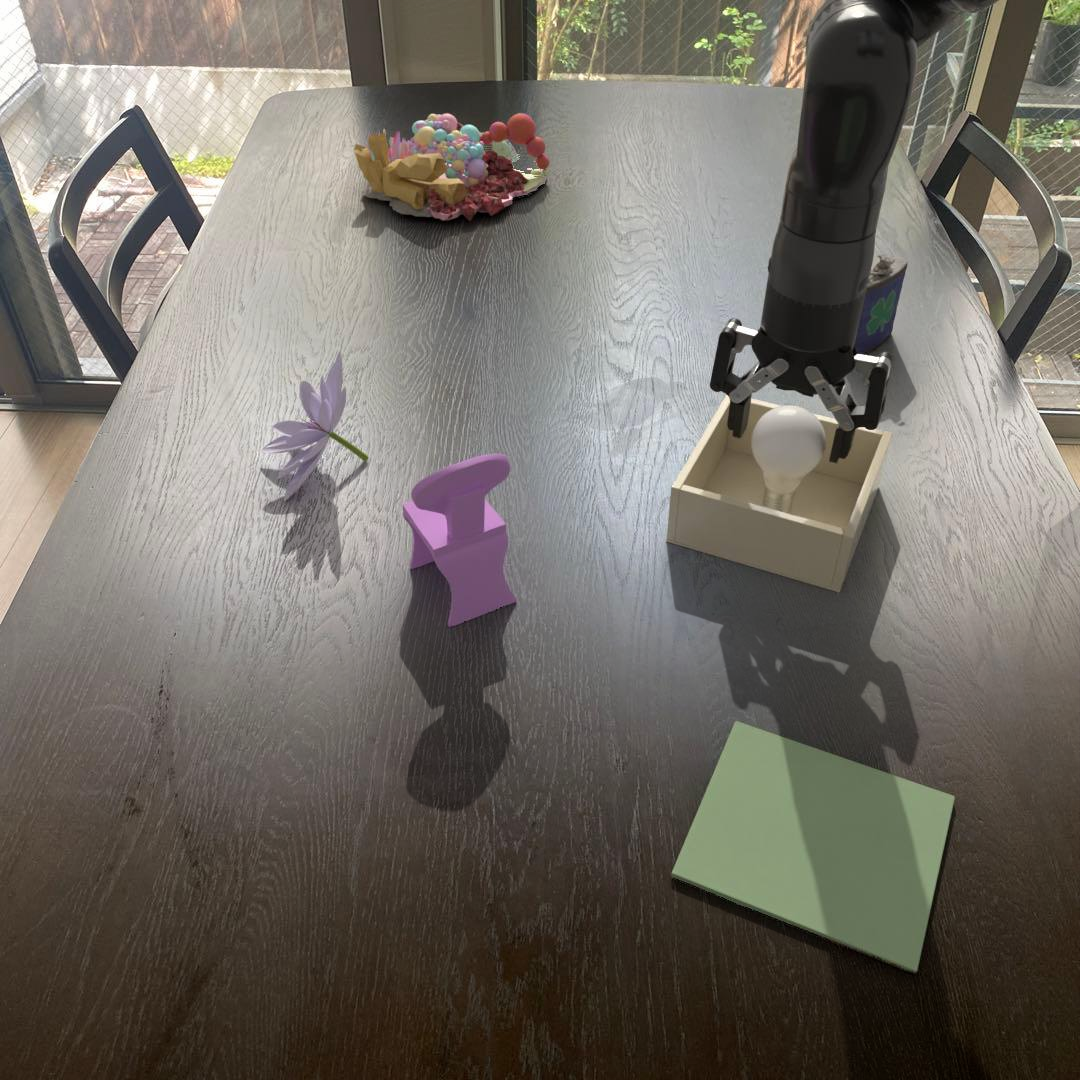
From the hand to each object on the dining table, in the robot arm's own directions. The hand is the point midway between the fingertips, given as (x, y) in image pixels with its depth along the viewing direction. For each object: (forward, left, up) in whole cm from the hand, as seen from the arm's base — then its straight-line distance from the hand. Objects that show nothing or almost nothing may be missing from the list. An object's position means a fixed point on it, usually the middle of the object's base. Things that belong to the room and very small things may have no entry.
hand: (786, 445), depth 94 cm
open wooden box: (0, 0, -8) cm, 8 cm away
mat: (-12, +32, -8) cm, 35 cm away
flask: (-1, -32, -8) cm, 33 cm away
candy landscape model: (+61, -50, -8) cm, 79 cm away
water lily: (+43, +11, -8) cm, 45 cm away
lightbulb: (0, 0, -8) cm, 8 cm away
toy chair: (+22, +20, -8) cm, 31 cm away
